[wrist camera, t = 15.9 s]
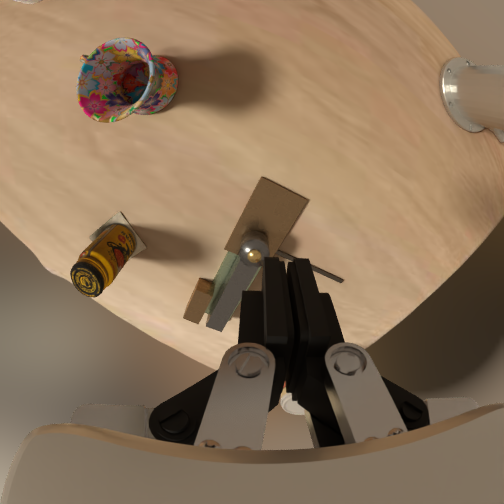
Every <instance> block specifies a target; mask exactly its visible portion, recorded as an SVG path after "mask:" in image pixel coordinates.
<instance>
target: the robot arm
mask: <svg viewBox="0 0 504 504" xmlns="http://www.w3.org/2000/svg"><path fill="white" fill-rule="evenodd" d="M440 91H441V97H442V100H443V103H444V106H445V108H446V110H447V112H448V114H449V115H450V117H451V118H452V120H453V121H454V122H455V123H456V124H457V125H458V126H459V127H461V128H462V129H464V130H467V131H470V132H479V131H481V130H483V129H484V128H485V127H486V128H489V129H490V131H493V132H494V134H495V136H496V137H497V139H498V140H499V141H500V142H504V132H503V130H504V66H476V65H475V64H474V63H473V62H471V61H470V60H468V59H465V58H462V57H459V58H452V59H450V60H448V61H447V62H446V63H445V64H444V66H443V68H442V70H441V74H440ZM284 383H285V385H286V393H291V394H292V401H297V404H298V405H300V406H301V407H303V408H304V413H305V418H306V421H307V425H308V428H309V432H310V435H311V439H312V442H313V446H314V448H311V449H298V450H261V448H262V443H263V438H264V432H265V426H266V420H267V415H268V412H269V411H271V410H272V409H273V408H274V407H275V406H277V405H278V403H279V399H280V395H281V393H282V391H283V387H284ZM0 504H504V403H495V404H489V405H485V406H482V407H478V404H477V403H476V402H475V401H474V400H473V399H471V398H468V397H457V398H432V399H431V398H427V399H426V400H425V401H423V400H421V399H420V398H418V397H417V396H415V395H413V394H412V393H410V392H408V391H406V390H404V389H403V388H401V387H399V386H398V385H396V384H394V383H392V382H391V381H389V380H387V379H385V378H384V377H382V376H380V374H379V372H378V370H377V368H376V366H375V365H374V363H373V361H372V359H371V357H370V355H369V354H368V353H367V351H366V350H364V349H363V348H362V347H360V346H358V345H356V344H353V343H348V342H347V343H345V341H344V338H343V335H342V332H341V328H340V325H339V322H338V319H337V316H336V312H335V309H334V306H333V303H332V300H331V297H330V295H329V294H328V293H319V291H318V287H317V284H316V280H315V277H314V274H313V271H312V267H311V264H310V261H309V259H304V258H294V259H293V262H288V266H287V274H286V269H285V263H284V261H279V258H278V257H264V262H263V277H262V291H244V290H242V299H241V312H240V324H239V337H238V344H237V345H235V346H233V347H231V348H230V349H228V350H227V351H226V352H225V354H224V356H223V358H222V361H221V364H220V367H219V369H218V370H217V371H215V372H214V373H212V374H210V375H209V376H207V377H206V378H204V379H202V380H201V381H199V382H197V383H196V384H194V385H193V386H191V387H189V388H187V389H186V390H184V391H182V392H181V393H179V394H177V395H175V396H174V397H172V398H170V399H168V400H167V401H165V402H163V403H161V404H160V405H159V406H157V407H156V408H146V407H145V406H144V405H142V406H141V405H140V406H139V405H138V406H137V405H136V406H134V405H103V404H102V405H101V404H83V405H81V406H79V407H78V408H77V409H76V410H75V411H74V412H73V415H72V418H71V423H70V424H68V423H61V424H50V425H44V426H41V427H38V428H36V429H34V430H32V431H31V432H30V433H29V434H28V435H27V436H26V437H25V439H24V440H23V442H22V443H21V445H20V447H19V449H18V451H17V452H16V454H15V457H14V459H13V461H12V464H11V466H10V469H9V472H8V475H7V479H6V482H5V485H4V489H3V493H2V497H1V503H0Z"/></svg>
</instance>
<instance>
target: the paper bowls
mask: <svg viewBox="0 0 504 504" xmlns="http://www.w3.org/2000/svg"><path fill="white" fill-rule="evenodd" d="M14 1H18V2H22V3H26V4H34V3H38V2H40V1H42V0H14Z"/></svg>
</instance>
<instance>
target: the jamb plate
mask: <svg viewBox="0 0 504 504" xmlns="http://www.w3.org/2000/svg"><path fill="white" fill-rule="evenodd" d="M306 202H307V199H305V198H303V197H301V196H299V195H297V194H295V193H293V192H291V191H289V190H287V189H285V188H283V187H282V186H280V185H278V184H276V183H274V182H271V181H269V180H267V179H265V178H263V177H261V178H260V180H259V182H258V184H257V186H256V188H255V190H254V192H253V194H252V195H251V197H250V199H249V201H248V203H247V205H246V207H245V209H244V211H243V213H242V215H241V217H240V219H239V221H238V223H237V225H236V226H235V228H234V230H233V232H232V234H231V236H230V238H229V240H228V242H227V244H226V246H225V248H224V249H225V250H227V251H229V252H232V253H234V254H236V255H238V254H239V252H240V245H241V240H242V238H243V236H244V235H245V234H246V233H248V232H251V231H258V232H261V233H263V234H264V235H265V236H266V237H267V239H268V241H269V253H270V256H269V257H273V256H274V255H275V254H278V255H280V256H282V257H284V258H286V259H289V260H291V261H293V259H294V258H295V257H293V256H291V255H288V254H286V253H284V252H282V251H280V250H278V248H279V247H280V245H281V243H282V242H283V240H284V238H285V237H286V235H287V233H288V232H289V230H290V228H291V227H292V225H293V224H294V222H295V220H296V219H297V217H298V215H299V214H300V212H301V210H302V209H303V207H304V205H305V204H306ZM311 267H312V270H313V271H315V272H317V273H320V274H322V275H324V276H326V277H328V278H331V279H333V280H335V281H337V282H339V283H342V282H343V279H341V278H338V277H336V276H334V275H332V274H330V273H328V272H325V271H323V270H321V269H319V268H317V267H315V266H312V265H311Z"/></svg>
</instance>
